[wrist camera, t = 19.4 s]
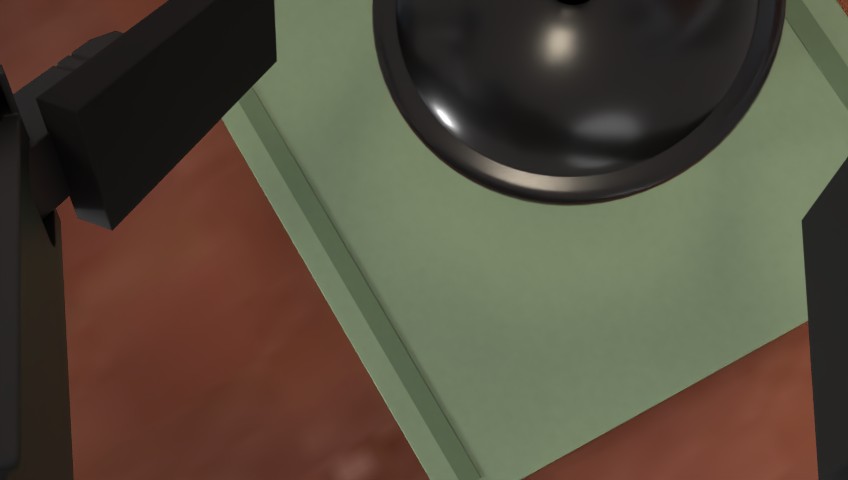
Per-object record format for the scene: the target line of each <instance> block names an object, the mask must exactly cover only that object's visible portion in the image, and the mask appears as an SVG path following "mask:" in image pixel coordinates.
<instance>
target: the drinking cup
mask: <svg viewBox="0 0 848 480" xmlns="http://www.w3.org/2000/svg"><path fill="white" fill-rule="evenodd" d="M785 13H786V0H372V28H373V36H374V45H375V50H376V54H377V59H378V63H379V67H380V70H381V73H382V76H383V79H384V82H385V84H386V87H387V89H388V91H389V93H390V96H391V98H392V100H393V102H394V104H395V105H396V107H397V109H398V111H399V112H400V114H401V116H402V117H403V119H404V120H405V122H406V123H407V124H408V126H409V127H410V129H411V130H412V131H413V133H414V134H415V135H416V136H417V137H418V138H419V140H420V141H421V142H422V143H423V144H424V145H425V146H426V147H427V148H428V149H429V150H430V151H431V152H432V153H433V154H434V155H435V156H436V157H437V158H438V159H440V160H441V161H442V162H443V163H445V164H446V165H447V166H449V167H450V168H451V169H452V170H454V171H455V172H457V173H458V174H460V175H462V176H463V177H465V178H466V179H468V180H470V181H471V182H473V183H475V184H477V185H479V186H481V187H483V188H485V189H488V190H490V191H492V192H495V193H498V194H501V195H503V196H506V197H509V198H513V199H517V200H521V201H525V202H530V203H536V204H542V205H554V206H584V205H593V204H601V203H607V202H611V201H615V200H620V199H624V198H628V197H631V196H634V195H637V194H640V193H643V192H645V191H648V190H650V189H652V188H655V187H657V186H659V185H662V184H664V183H666V182H668V181H669V180H671V179H673V178H675V177H677V176H678V175H680V174H682V173H683V172H685V171H687V170H688V169H689V168H691V167H692V166H694V165H695V164H697V163H698V162H700V161H701V160H702V159H704V158H705V157H706V156H707V155H708V154H709V153H711V152H712V151H713V150H714V149H715V148H717V147H718V146H719V145H720V144H721V143H722V142H723V141H724V140H725V139H726V138H727V137H728V136H729V135H730V134H731V133H732V131H733V130H734V129H735V128H736V127H737V125H738V124H739V123H740V122H741V120H742V119H743V118H744V117H745V115H746V114H747V113H748V111H749V110H750V108H751V107H752V105H753V104H754V102H755V101H756V99H757V97H758V96H759V94H760V92H761V90H762V88H763V86H764V84H765V82H766V81H767V78H768V76H769V74H770V71H771V69H772V66H773V64H774V61H775V58H776V56H777V52H778V48H779V45H780V42H781V37H782V32H783V26H784V21H785Z"/></svg>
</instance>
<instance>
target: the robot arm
mask: <svg viewBox="0 0 848 480" xmlns="http://www.w3.org/2000/svg"><path fill="white" fill-rule="evenodd" d="M276 62H277V49H276V27H275V4H274V0H169V1H167V2H166V3H165V4H163V5H162V6H160V7H159V8H158V9H156V10H155V11H154V12H152V13H151V14H150V15H148V16H147V17H145V18H144V19H143V20H141V21H140V22H139V23H137V24H136V25H135V26H133V27H132V28H131V29H129V30H128V31H126V32H125V33H121V32H117V31H114V32H111V33H108V34H105V35H102V36H100V37H97V38H94V39H91V40H89V41H88V42H87V43H85V44H84V45H82V46H81V47H79V48H78V49H77V50H75V51H74V52H72V56H69V55H68V56H67V57H65V58H64V59H63V60H61V61H60V62H58V63H57V66H56V67H55V66H53V67H51V68H50V69H48V70H47V71H46V72H44V73H43V74H41V75H40V76H39V77H37V78H36V79H34V80H33V81H32V82H30V83H29V84H27V85H26V86H24V87H23V88H22V89H20V90H19V91H17V92H16V93H15V94H13V93H12V91H11V88H10V85H9V83H8V80H7V77H6V75H5V72H4V70H3V67H2V65H0V480H74V479H73V459H72V439H71V419H70V399H69V379H68V360H67V340H66V320H65V300H64V280H63V260H62V240H61V221H60V218H59V215H58V213H57V210H56V207H57V206H59V205H60V204H61V203H62V202H63V201H64V200H65V199H66V198H67V197H68V196H69V195H70V198H71V201H72V204H73V206H74V209H75V212H76V215H77V218H79V219H82V220H85V221H87V222H90V223H93V224H96V225H99V226H101V227H104V228H107V229H110V230H113V229H114V228H115V227H116V226H117V225H118V224H119V223H120V222H121V221H122V220H123V219H124V218H125V217H126V216H127V215H128V214H129V213H130V212H131V211H132V210H133V209H134V208H135V207H136V206H137V205H138V204H139V203H140V202H141V200H142V199H143V198H144V197H145V196H146V195H147V194H148V193H149V192H150V191H151V190H152V189H153V188H154V187H155V186H156V185H157V184H158V183H159V182H160V181H161V180H162V179H163V178H164V177H165V176H166V175H167V174H168V173H169V172H170V171H171V170H172V169H173V168H174V167H175V166H176V164H177V163H178V162H179V161H180V160H181V159H182V158H183V157H184V156H185V155H186V154H187V153H188V152H189V151H190V150H191V149H192V148H193V147H194V146H195V145H196V144H197V143H198V142H199V141H200V140H201V139H202V138H203V137H204V136H205V135H206V134H207V133H208V132H209V131H210V130H211V128H212V127H213V126H214V125H215V124H216V123H217V122H218V121H219V120H220V119H221V118H222V117H223V116H224V115H225V114H226V113H227V112H228V111H229V110H230V109H231V108H232V107H233V106H234V105H235V104H236V103H237V102H238V101H239V100H240V99H241V98H242V97H243V96H244V95H245V94H246V92H247V91H248V90H249V89H250V88H251V87H252V86H253V85H254V84H255V83H256V82H257V81H258V80H259V79H260V78H261V77H262V76H263V75H264V74H265V73H266V72H267V71H268V70H269V69H270V68H271V67H272V66H273V65H274V64H275V63H276ZM801 221H802V236H803V251H804V266H805V281H806V296H807V311H808V326H809V341H810V356H811V371H812V386H813V401H814V416H815V431H816V446H817V461H818V476H819V480H848V157H847V158H846V160H845V161H844V162H843V164H842V165H841V167H840V168H839V169H838V171H837V172H836V173H835V175H834V176H833V178H832V179H831V180H830V182H829V183H828V185H827V186H826V187H825V189H824V190H823V191H822V193H821V194H820V196H819V197H818V198H817V200H816V201H815V202H814V204H813V205H812V207H811V208H810V209H809V211H808V212H807V214H806V215H805V216H804V218H803V219H802V220H801Z"/></svg>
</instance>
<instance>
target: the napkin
mask: <svg viewBox="0 0 848 480" xmlns="http://www.w3.org/2000/svg"><path fill="white" fill-rule="evenodd" d="M274 4H275V27H276V49H277V62H276V63H275V64H274V65H273V66H272V67H271V68H270V69H269V70H268V71H267V72H266V73H265V74H264V75H263V76H262V77H261V78H260V79H259V80H258V81H257V82H256V83H255V84H254V85H253V86H252V87H251V88H250V89H249V90H248V91H247V92H246V94H245V95H244V96H243V97H242V98H241V99H240V100H239V101H238V102H237V103H236V104H235V105H234V106H233V107H232V108H231V109H230V110H229V111H228V112H227V113H226V114H225V115H224V116H223V117H222V118H221V119H222V120H223V122H224V124H225V125H226V127H227V129H228V131H229V132H230V134H231V136H232V138H233V139H234V141H235V143H236V144H237V146H238V148H239V150H240V151H241V153H242V155H243V157H244V158H245V160H246V162H247V164H248V165H249V167H250V169H251V170H252V172H253V174H254V176H255V177H256V179H257V181H258V183H259V184H260V186H261V188H262V189H263V191H264V193H265V195H266V196H267V198H268V200H269V202H270V203H271V205H272V207H273V208H274V210H275V212H276V214H277V215H278V217H279V219H280V221H281V222H282V224H283V226H284V228H285V229H286V231H287V233H288V234H289V236H290V238H291V240H292V241H293V243H294V245H295V247H296V248H297V250H298V252H299V253H300V255H301V257H302V259H303V260H304V262H305V264H306V266H307V267H308V269H309V271H310V272H311V274H312V276H313V278H314V279H315V281H316V283H317V285H318V286H319V288H320V290H321V292H322V293H323V295H324V297H325V298H326V300H327V302H328V304H329V305H330V307H331V309H332V311H333V312H334V314H335V316H336V317H337V319H338V321H339V323H340V324H341V326H342V328H343V330H344V331H345V333H346V335H347V336H348V338H349V340H350V342H351V343H352V345H353V347H354V349H355V350H356V352H357V354H358V356H359V357H360V359H361V361H362V362H363V364H364V366H365V368H366V369H367V371H368V373H369V375H370V376H371V378H372V380H373V381H374V383H375V385H376V387H377V388H378V390H379V392H380V394H381V395H382V397H383V399H384V401H385V402H386V404H387V406H388V407H389V409H390V411H391V413H392V414H393V416H394V418H395V420H396V421H397V423H398V425H399V426H400V428H401V430H402V432H403V433H404V435H405V437H406V439H407V440H408V442H409V444H410V445H411V447H412V449H413V451H414V452H415V454H416V456H417V458H418V459H419V461H420V463H421V465H422V466H423V468H424V470H425V471H426V473H427V475H428V477H429V478H430V480H521V479H523V478H525V477H526V476H528V475H530V474H532V473H534V472H535V471H537V470H539V469H541V468H543V467H544V466H546V465H548V464H550V463H552V462H553V461H555V460H557V459H559V458H561V457H562V456H564V455H566V454H568V453H570V452H572V451H573V450H575V449H577V448H579V447H581V446H582V445H584V444H586V443H588V442H590V441H591V440H593V439H595V438H597V437H599V436H600V435H602V434H604V433H606V432H608V431H609V430H611V429H613V428H615V427H617V426H618V425H620V424H622V423H624V422H626V421H628V420H629V419H631V418H633V417H635V416H637V415H638V414H640V413H642V412H644V411H646V410H647V409H649V408H651V407H653V406H655V405H656V404H658V403H660V402H662V401H664V400H665V399H667V398H669V397H671V396H673V395H674V394H676V393H678V392H680V391H682V390H684V389H685V388H687V387H689V386H691V385H693V384H694V383H696V382H698V381H700V380H702V379H703V378H705V377H707V376H709V375H711V374H712V373H714V372H716V371H718V370H720V369H721V368H723V367H725V366H727V365H729V364H730V363H732V362H734V361H736V360H738V359H739V358H741V357H743V356H745V355H747V354H749V353H750V352H752V351H754V350H756V349H758V348H759V347H761V346H763V345H765V344H767V343H768V342H770V341H772V340H774V339H776V338H777V337H779V336H781V335H783V334H785V333H786V332H788V331H790V330H792V329H794V328H795V327H797V326H799V325H801V324H803V323H805V322H806V321H808V311H807V296H806V281H805V266H804V251H803V236H802V221H801V220H802V219H803V218H804V216H805V215H806V214H807V212H808V211H809V209H810V208H811V207H812V205H813V204H814V202H815V201H816V200H817V198H818V197H819V196H820V194H821V193H822V191H823V190H824V189H825V187H826V186H827V185H828V183H829V182H830V180H831V179H832V178H833V176H834V175H835V173H836V172H837V171H838V169H839V168H840V167H841V165H842V164H843V162H844V161H845V160H846V158H847V157H848V16H847V15H846V13H845V12H844V11H843V9H842V8H841V6H840V5H839V3H838V2H837V0H786V13H785V21H784V26H783V32H782V37H781V42H780V45H779V48H778V52H777V56H776V58H775V61H774V64H773V66H772V69H771V71H770V74H769V76H768V78H767V81H766V82H765V84H764V86H763V88H762V90H761V92H760V94H759V96H758V97H757V99H756V101H755V102H754V104H753V105H752V107H751V108H750V110H749V111H748V113H747V114H746V115H745V117H744V118H743V119H742V120H741V122H740V123H739V124H738V125H737V127H736V128H735V129H734V130H733V131H732V133H731V134H730V135H729V136H728V137H727V138H726V139H725V140H724V141H723V142H722V143H721V144H720V145H719V146H718V147H717V148H715V149H714V150H713V151H712V152H711V153H709V154H708V155H707V156H706V157H705V158H704V159H702V160H701V161H700V162H698V163H697V164H695V165H694V166H692V167H691V168H689V169H688V170H687V171H685V172H683V173H682V174H680V175H678V176H677V177H675V178H673V179H671V180H669V181H668V182H666V183H664V184H662V185H659V186H657V187H655V188H652V189H650V190H648V191H645V192H643V193H640V194H637V195H634V196H631V197H628V198H624V199H620V200H615V201H611V202H607V203H601V204H593V205H584V206H554V205H542V204H536V203H530V202H525V201H521V200H517V199H513V198H509V197H506V196H503V195H501V194H498V193H495V192H492V191H490V190H488V189H485V188H483V187H481V186H479V185H477V184H475V183H473V182H471V181H470V180H468V179H466V178H465V177H463V176H462V175H460V174H458V173H457V172H455V171H454V170H452V169H451V168H450V167H449V166H447V165H446V164H445V163H443V162H442V161H441V160H440V159H438V158H437V157H436V156H435V155H434V154H433V153H432V152H431V151H430V150H429V149H428V148H427V147H426V146H425V145H424V144H423V143H422V142H421V141H420V140H419V138H418V137H417V136H416V135H415V134H414V133H413V131H412V130H411V129H410V127H409V126H408V124H407V123H406V122H405V120H404V119H403V117H402V116H401V114H400V112H399V111H398V109H397V107H396V105H395V104H394V102H393V100H392V98H391V96H390V93H389V91H388V89H387V87H386V84H385V82H384V79H383V76H382V73H381V70H380V67H379V63H378V59H377V54H376V50H375V45H374V36H373V28H372V0H274Z"/></svg>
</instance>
